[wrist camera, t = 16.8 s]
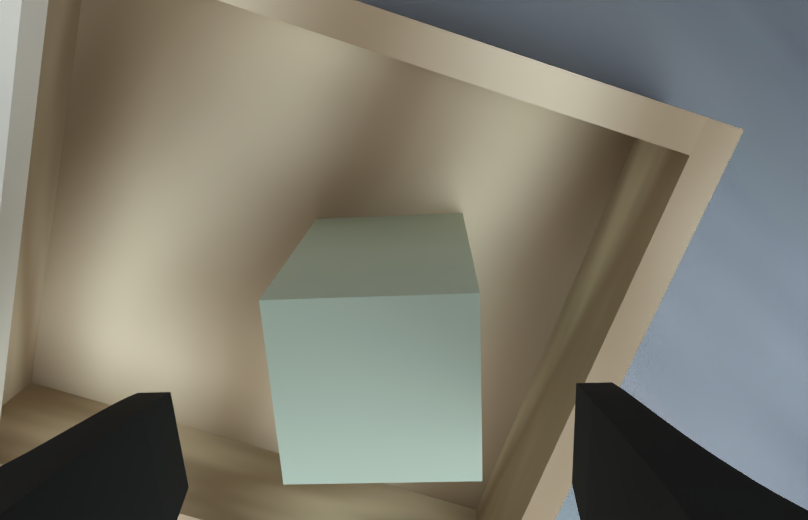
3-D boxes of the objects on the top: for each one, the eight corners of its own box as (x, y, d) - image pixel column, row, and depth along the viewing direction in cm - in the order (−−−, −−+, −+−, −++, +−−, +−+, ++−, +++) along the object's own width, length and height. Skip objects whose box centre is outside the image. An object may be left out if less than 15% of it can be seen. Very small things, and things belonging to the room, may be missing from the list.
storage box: (670, 112, 16) (744, 129, 12) (489, 522, 20) (503, 627, 17) (73, -86, 15) (-45, -134, 11) (15, 386, 20) (-85, 465, 16)
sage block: (462, 213, 17) (480, 293, 11) (465, 346, 18) (482, 480, 12) (316, 218, 17) (258, 300, 11) (329, 350, 18) (283, 484, 12)
